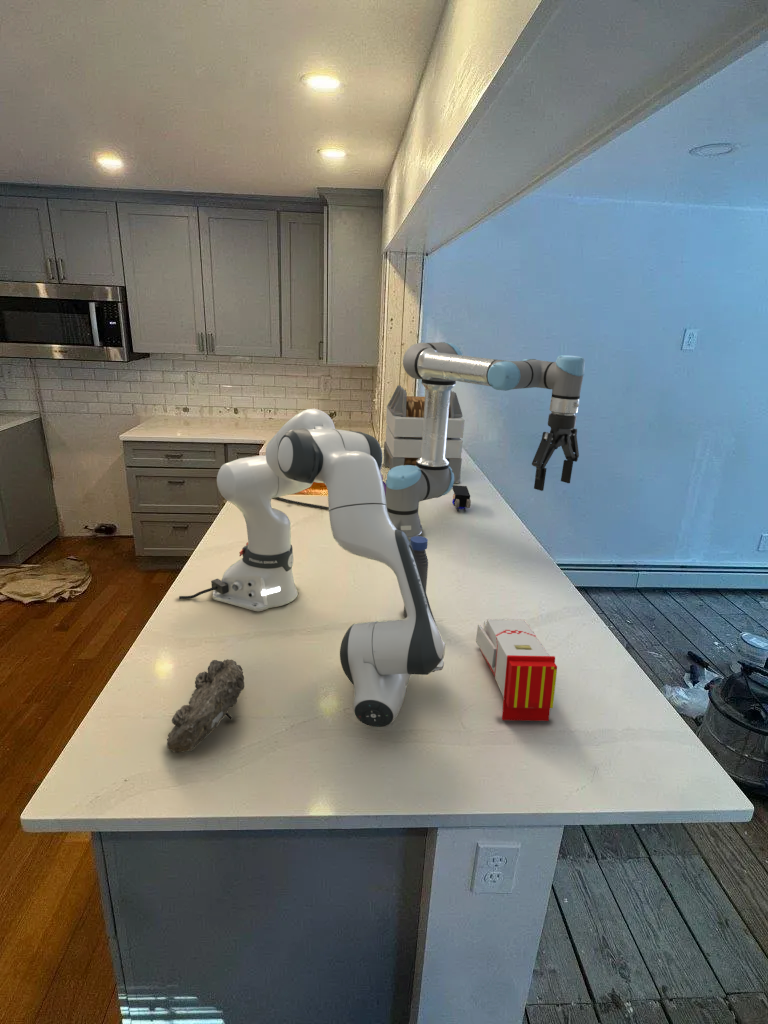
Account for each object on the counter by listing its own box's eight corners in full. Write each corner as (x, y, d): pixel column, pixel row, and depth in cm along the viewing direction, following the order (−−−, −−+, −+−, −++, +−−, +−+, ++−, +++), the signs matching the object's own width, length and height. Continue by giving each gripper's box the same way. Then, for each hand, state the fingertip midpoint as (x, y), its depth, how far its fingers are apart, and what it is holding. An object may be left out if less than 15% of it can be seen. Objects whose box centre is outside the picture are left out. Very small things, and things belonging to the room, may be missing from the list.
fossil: (192, 660, 117) (244, 628, 112) (224, 691, 120) (276, 661, 115) (142, 746, 98) (202, 712, 93) (182, 779, 101) (242, 748, 96)
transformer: (382, 463, 289) (386, 382, 275) (445, 464, 293) (451, 384, 279) (390, 482, 257) (394, 392, 243) (460, 483, 261) (468, 394, 247)
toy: (523, 604, 135) (566, 662, 106) (518, 656, 138) (559, 727, 109) (472, 603, 135) (501, 661, 105) (468, 655, 138) (496, 726, 108)
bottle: (399, 614, 147) (403, 540, 140) (413, 608, 151) (418, 535, 144) (413, 623, 144) (419, 546, 136) (428, 616, 147) (434, 541, 140)
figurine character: (470, 516, 223) (465, 500, 237) (473, 499, 220) (467, 484, 233) (453, 516, 223) (449, 500, 236) (455, 498, 220) (451, 483, 233)
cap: (406, 546, 141) (406, 538, 140) (418, 542, 143) (418, 534, 143) (418, 552, 138) (419, 544, 137) (430, 547, 141) (431, 540, 140)
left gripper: (443, 658, 111) (450, 623, 124) (342, 643, 115) (359, 610, 128) (441, 685, 113) (447, 648, 126) (342, 670, 117) (358, 635, 130)
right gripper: (548, 419, 148) (537, 496, 155) (598, 411, 163) (586, 482, 171) (525, 414, 153) (515, 489, 160) (575, 407, 169) (564, 476, 176)
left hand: (402, 629), depth 127 cm, fingers open, 8 cm apart
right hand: (552, 485), depth 166 cm, fingers open, 13 cm apart
